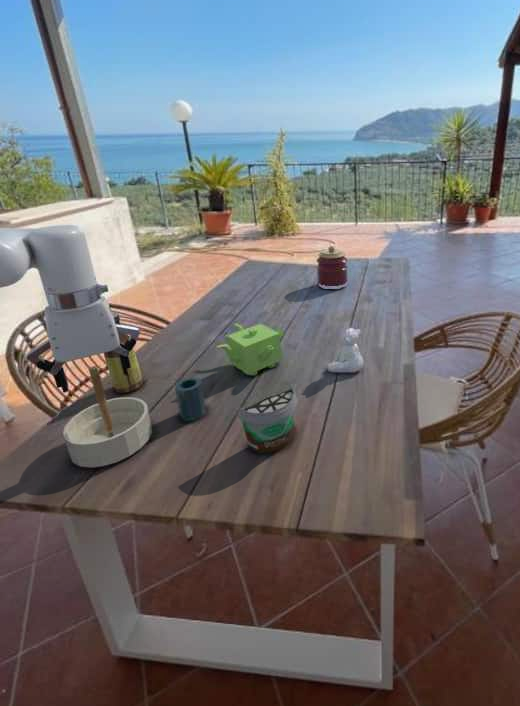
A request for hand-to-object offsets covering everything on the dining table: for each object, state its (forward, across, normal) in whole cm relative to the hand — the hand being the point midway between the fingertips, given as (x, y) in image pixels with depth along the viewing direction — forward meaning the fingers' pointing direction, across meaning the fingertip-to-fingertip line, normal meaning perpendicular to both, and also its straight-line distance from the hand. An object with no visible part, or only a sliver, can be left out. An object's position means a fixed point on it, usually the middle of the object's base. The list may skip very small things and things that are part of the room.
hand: (96, 380), depth 74 cm
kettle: (+15, -35, -12) cm, 40 cm away
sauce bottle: (+15, -5, -20) cm, 26 cm away
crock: (+15, -16, 0) cm, 22 cm away
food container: (+15, -27, +20) cm, 37 cm away
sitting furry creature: (+15, -55, +4) cm, 57 cm away
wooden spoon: (+14, 0, 0) cm, 14 cm away
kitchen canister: (+15, -87, -55) cm, 104 cm away
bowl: (+15, 0, 0) cm, 15 cm away
